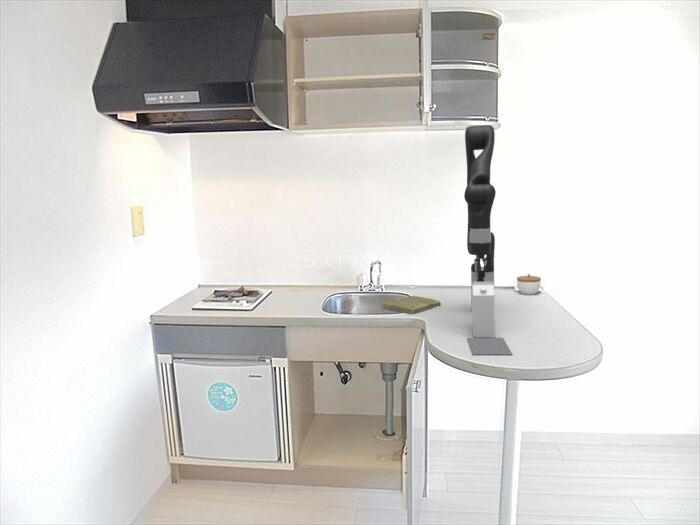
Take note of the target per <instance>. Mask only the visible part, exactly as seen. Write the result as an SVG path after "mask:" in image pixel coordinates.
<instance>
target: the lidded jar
mask: <svg viewBox="0 0 700 525" xmlns="http://www.w3.org/2000/svg"><path fill="white" fill-rule="evenodd" d="M516 280H517V282H516V283H517V288H518V291H519V292H521V294H522V295H525V296H533V295H536V293H538V291H539V290H540V288H541V277H540V276H536V275H531V274H529V273H528V274H527V275H521V276H517V277H516Z"/></svg>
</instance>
